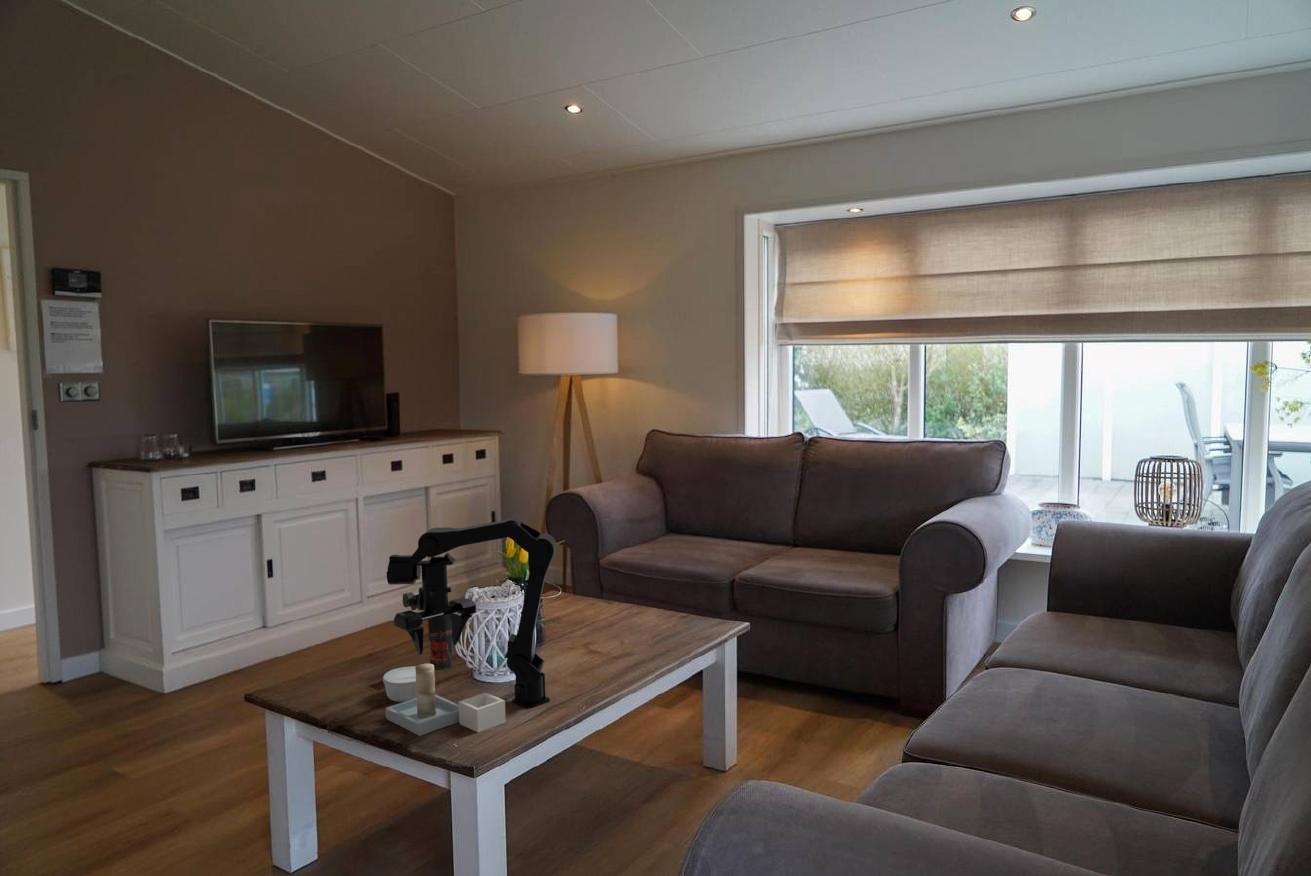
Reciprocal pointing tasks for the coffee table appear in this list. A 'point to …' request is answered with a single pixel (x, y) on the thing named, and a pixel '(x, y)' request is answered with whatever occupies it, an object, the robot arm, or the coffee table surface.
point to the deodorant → (440, 642)
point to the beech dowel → (425, 690)
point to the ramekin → (401, 684)
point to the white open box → (482, 712)
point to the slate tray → (409, 718)
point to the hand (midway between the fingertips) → (437, 649)
